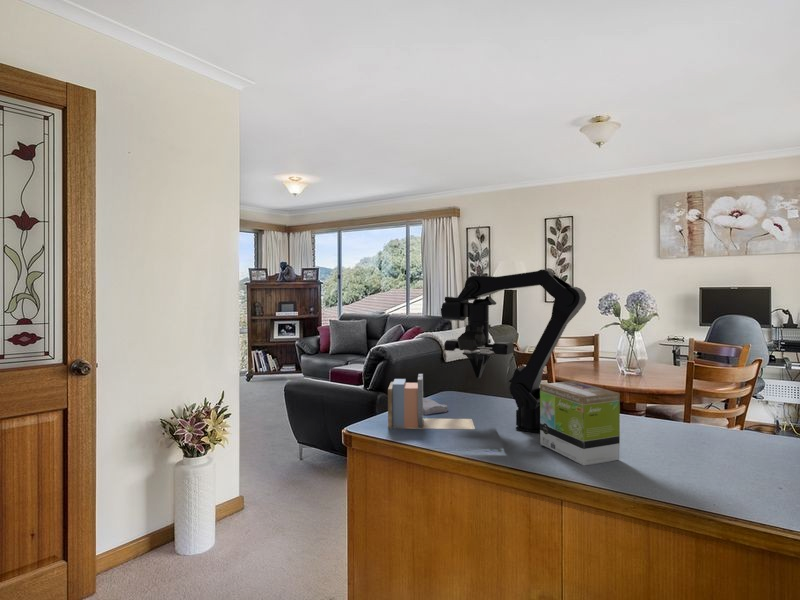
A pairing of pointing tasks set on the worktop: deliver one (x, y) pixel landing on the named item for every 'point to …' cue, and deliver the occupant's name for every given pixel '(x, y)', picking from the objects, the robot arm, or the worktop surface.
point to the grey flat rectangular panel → (420, 400)
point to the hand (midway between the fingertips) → (478, 377)
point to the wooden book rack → (430, 422)
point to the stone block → (433, 407)
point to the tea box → (580, 421)
